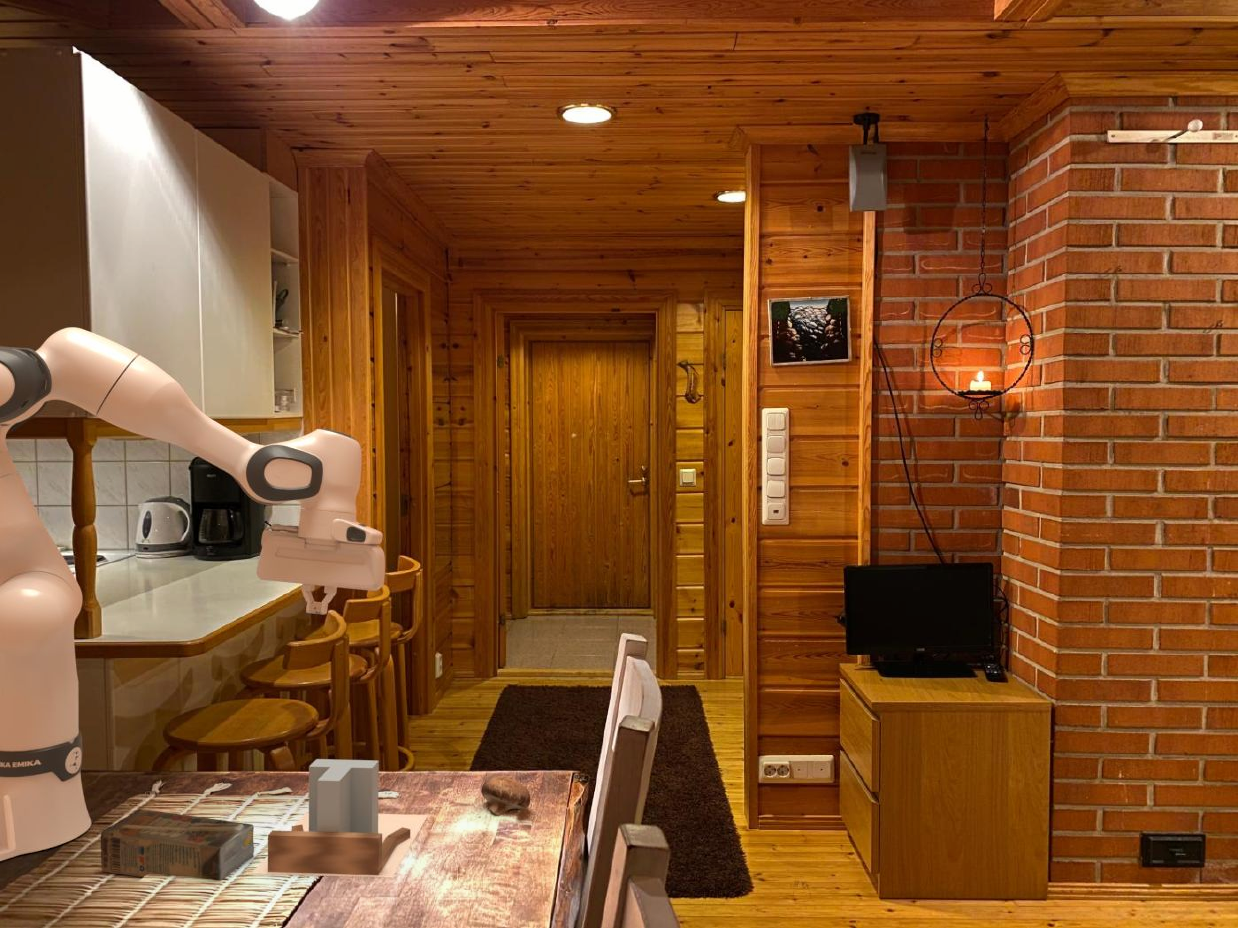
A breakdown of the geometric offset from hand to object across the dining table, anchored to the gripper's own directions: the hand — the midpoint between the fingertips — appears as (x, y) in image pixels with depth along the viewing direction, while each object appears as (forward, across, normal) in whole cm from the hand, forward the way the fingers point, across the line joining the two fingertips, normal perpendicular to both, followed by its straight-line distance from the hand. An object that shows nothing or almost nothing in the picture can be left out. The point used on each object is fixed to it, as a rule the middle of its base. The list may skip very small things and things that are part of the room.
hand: (316, 613), depth 149 cm
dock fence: (+31, +13, -18) cm, 38 cm away
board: (+31, +13, -14) cm, 37 cm away
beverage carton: (+34, -8, -21) cm, 41 cm away
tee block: (+31, +13, -18) cm, 38 cm away
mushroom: (+28, +34, -1) cm, 45 cm away
